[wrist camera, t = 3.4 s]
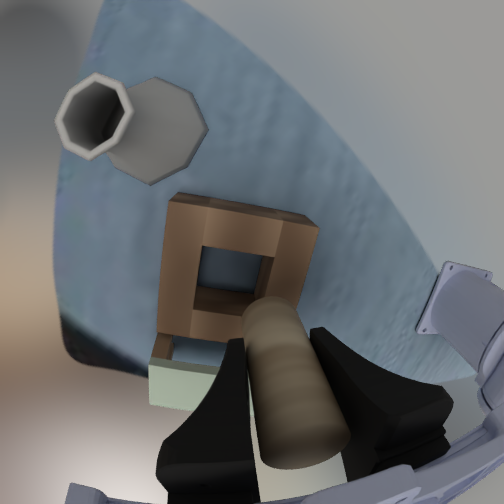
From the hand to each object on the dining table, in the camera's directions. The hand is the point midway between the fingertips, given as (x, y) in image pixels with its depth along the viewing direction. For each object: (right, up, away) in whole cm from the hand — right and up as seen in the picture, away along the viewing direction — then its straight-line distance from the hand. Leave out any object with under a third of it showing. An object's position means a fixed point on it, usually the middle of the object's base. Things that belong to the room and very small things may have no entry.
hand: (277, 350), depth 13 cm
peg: (0, +1, +2) cm, 3 cm away
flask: (-8, +13, +5) cm, 16 cm away
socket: (-3, +4, +9) cm, 10 cm away
